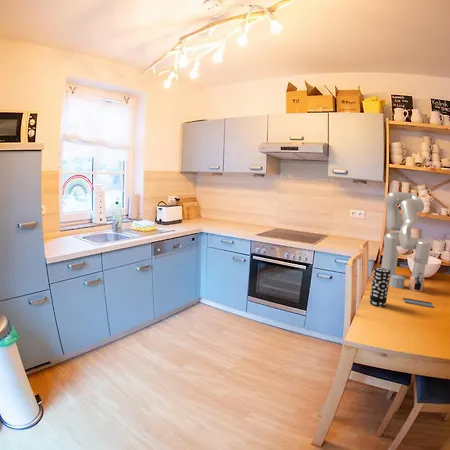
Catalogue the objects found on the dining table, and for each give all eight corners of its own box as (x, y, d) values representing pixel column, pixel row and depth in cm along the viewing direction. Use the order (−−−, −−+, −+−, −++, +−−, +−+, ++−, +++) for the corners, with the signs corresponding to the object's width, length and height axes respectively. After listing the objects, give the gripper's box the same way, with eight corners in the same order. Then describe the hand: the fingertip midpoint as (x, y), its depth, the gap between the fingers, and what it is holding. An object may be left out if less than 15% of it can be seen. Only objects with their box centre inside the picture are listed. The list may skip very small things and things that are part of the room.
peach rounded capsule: (409, 291, 202) (411, 278, 200) (407, 286, 209) (409, 275, 207) (423, 293, 199) (425, 281, 197) (421, 289, 206) (423, 277, 204)
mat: (405, 302, 185) (405, 301, 184) (401, 293, 199) (401, 292, 199) (433, 307, 180) (433, 306, 179) (427, 297, 194) (427, 296, 194)
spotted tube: (382, 301, 184) (387, 268, 181) (388, 307, 176) (393, 272, 173) (367, 300, 185) (371, 266, 182) (372, 306, 177) (377, 271, 174)
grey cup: (390, 289, 205) (392, 277, 204) (389, 285, 212) (390, 273, 211) (403, 291, 202) (405, 279, 201) (402, 287, 209) (404, 275, 208)
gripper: (411, 256, 209) (407, 281, 213) (416, 263, 193) (411, 290, 197) (425, 257, 207) (420, 283, 210) (430, 265, 191) (425, 293, 194)
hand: (415, 287), depth 203 cm, fingers closed on peach rounded capsule, 7 cm apart
